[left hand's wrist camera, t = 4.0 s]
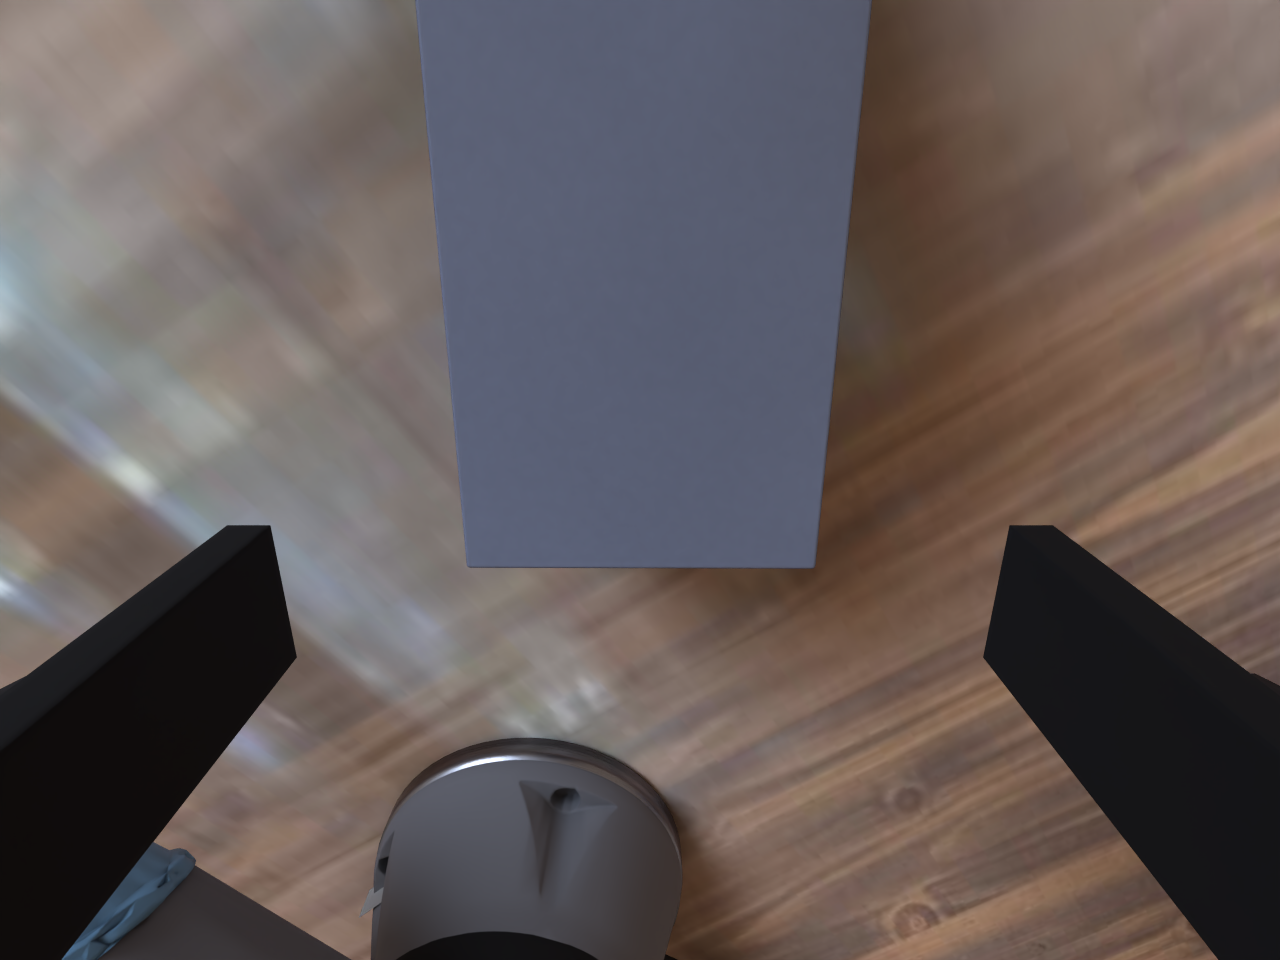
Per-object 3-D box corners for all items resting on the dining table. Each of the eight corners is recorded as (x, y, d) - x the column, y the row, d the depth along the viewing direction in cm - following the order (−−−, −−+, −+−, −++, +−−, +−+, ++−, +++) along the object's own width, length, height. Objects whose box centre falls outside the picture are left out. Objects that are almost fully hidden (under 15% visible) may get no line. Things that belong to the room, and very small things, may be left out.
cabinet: (481, -169, 22) (375, -428, 13) (805, -167, 22) (916, -427, 13) (519, 462, 29) (466, 568, 20) (762, 462, 29) (815, 569, 20)
